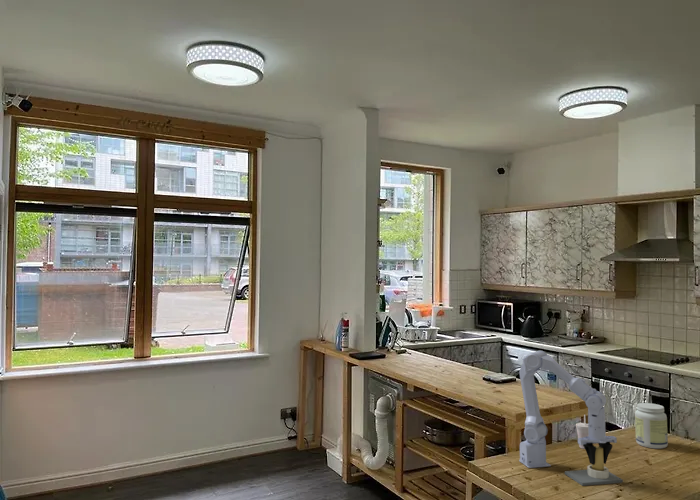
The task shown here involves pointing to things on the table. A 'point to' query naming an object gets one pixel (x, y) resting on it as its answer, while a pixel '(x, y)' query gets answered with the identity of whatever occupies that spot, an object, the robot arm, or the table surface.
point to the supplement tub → (651, 426)
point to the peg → (598, 459)
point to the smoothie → (582, 430)
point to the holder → (593, 476)
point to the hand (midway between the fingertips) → (597, 463)
